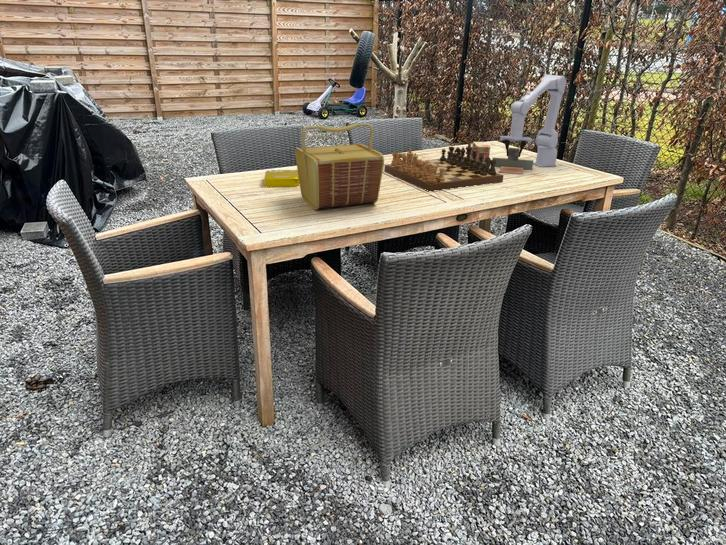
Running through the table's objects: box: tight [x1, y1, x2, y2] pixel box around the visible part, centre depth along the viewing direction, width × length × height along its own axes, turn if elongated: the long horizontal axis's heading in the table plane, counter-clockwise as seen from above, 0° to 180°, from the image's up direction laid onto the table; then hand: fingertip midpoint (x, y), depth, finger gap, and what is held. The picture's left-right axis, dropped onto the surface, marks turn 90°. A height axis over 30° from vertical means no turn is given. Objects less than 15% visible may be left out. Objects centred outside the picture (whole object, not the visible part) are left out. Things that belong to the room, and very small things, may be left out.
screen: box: [491, 156, 534, 171], centre depth 260 cm, size 20×2×4 cm, turn 73°
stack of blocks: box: [470, 141, 491, 163], centre depth 261 cm, size 21×6×12 cm, turn 0°
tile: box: [498, 166, 524, 176], centre depth 255 cm, size 11×11×1 cm
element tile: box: [263, 169, 300, 188], centre depth 229 cm, size 15×15×5 cm
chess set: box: [384, 141, 504, 192], centre depth 241 cm, size 40×40×15 cm
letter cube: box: [507, 147, 520, 161], centre depth 252 cm, size 5×5×5 cm
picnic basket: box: [294, 122, 385, 211], centre depth 198 cm, size 29×26×30 cm
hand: (513, 156), depth 252 cm, fingers closed on letter cube, 5 cm apart
